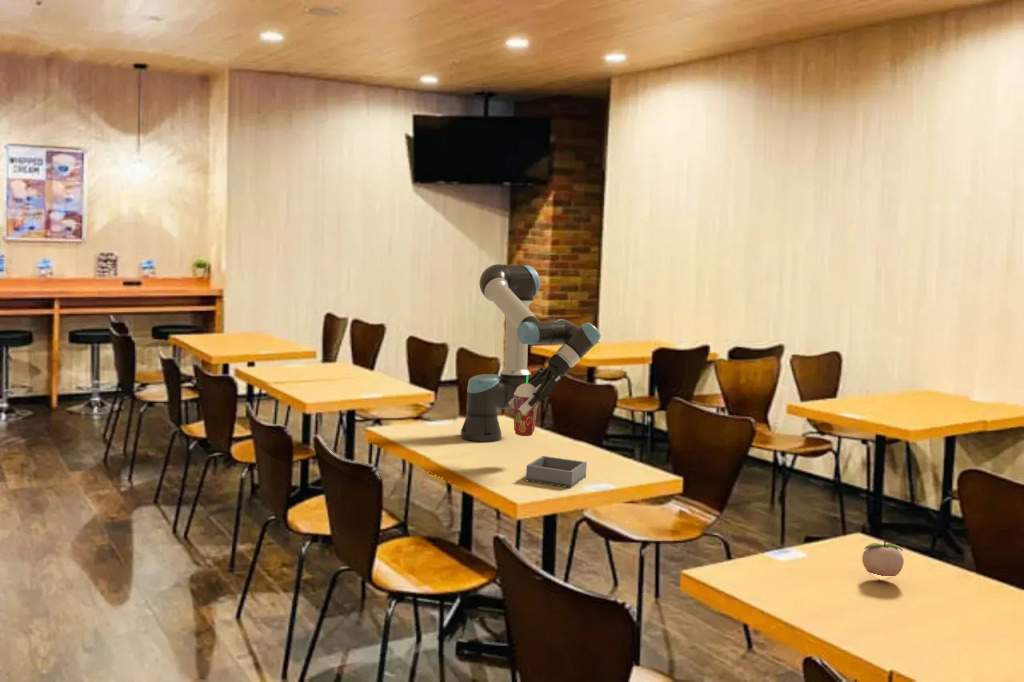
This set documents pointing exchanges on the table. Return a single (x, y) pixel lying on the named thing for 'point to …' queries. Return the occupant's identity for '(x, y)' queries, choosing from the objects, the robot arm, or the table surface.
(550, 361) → the robot arm
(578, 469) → the holder tray
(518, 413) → the smoothie
